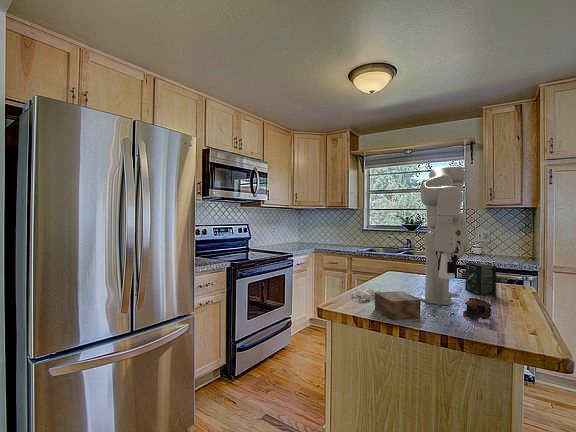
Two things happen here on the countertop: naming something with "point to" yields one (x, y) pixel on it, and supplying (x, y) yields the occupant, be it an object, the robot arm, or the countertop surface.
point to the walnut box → (397, 305)
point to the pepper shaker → (445, 267)
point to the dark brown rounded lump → (477, 309)
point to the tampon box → (480, 278)
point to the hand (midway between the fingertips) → (446, 271)
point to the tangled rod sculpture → (366, 293)
